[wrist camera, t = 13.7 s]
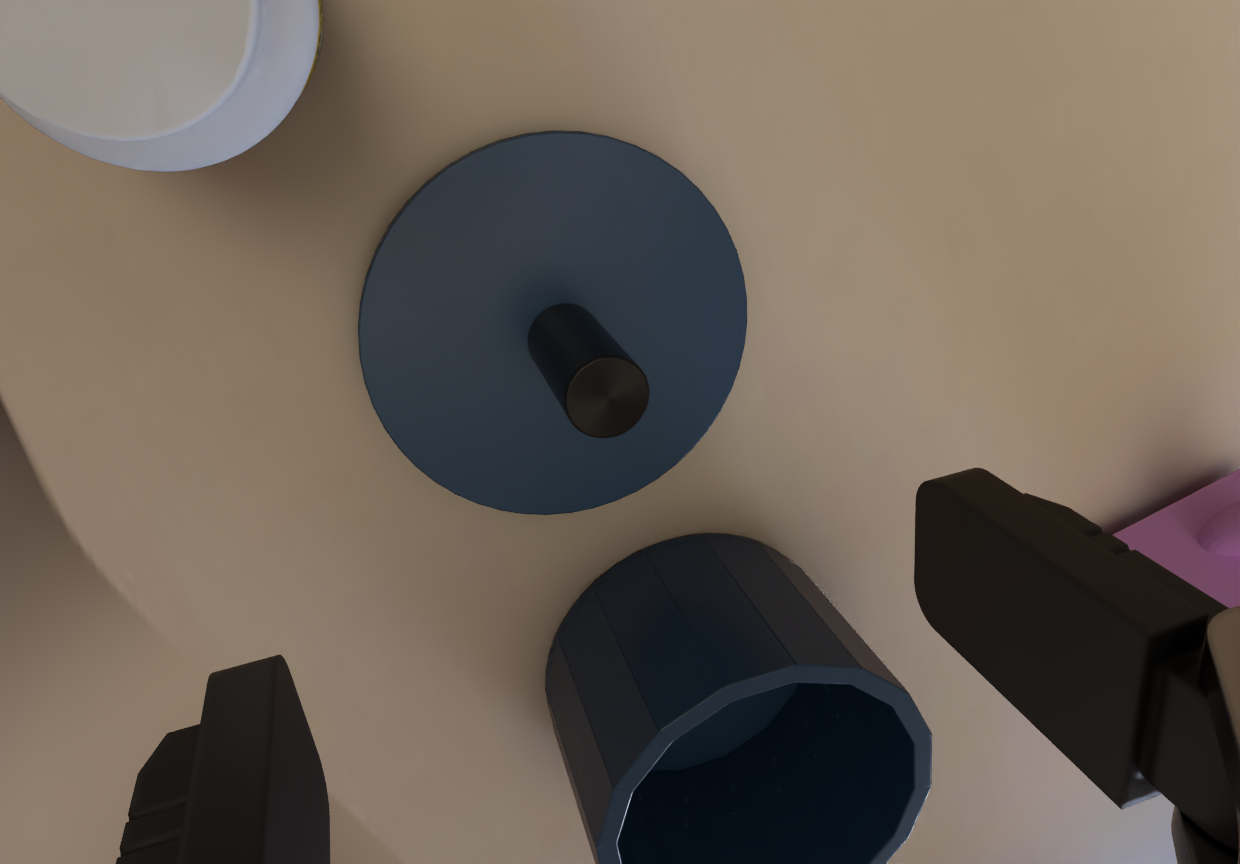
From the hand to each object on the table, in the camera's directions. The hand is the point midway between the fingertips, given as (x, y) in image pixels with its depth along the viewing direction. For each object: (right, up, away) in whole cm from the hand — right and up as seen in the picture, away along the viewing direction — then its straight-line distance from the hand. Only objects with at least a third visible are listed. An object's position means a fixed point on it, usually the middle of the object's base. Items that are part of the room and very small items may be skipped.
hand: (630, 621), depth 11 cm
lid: (-2, +5, +19) cm, 20 cm away
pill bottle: (-11, +14, +13) cm, 22 cm away
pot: (+3, -7, +26) cm, 27 cm away
